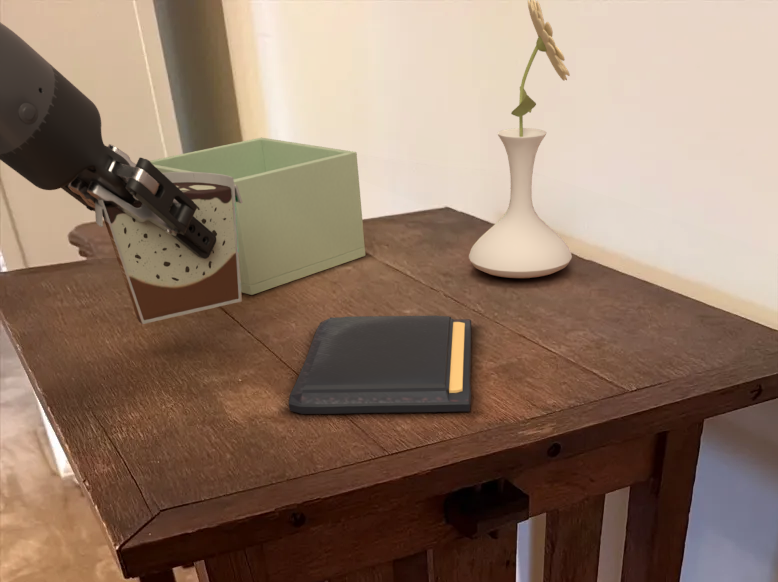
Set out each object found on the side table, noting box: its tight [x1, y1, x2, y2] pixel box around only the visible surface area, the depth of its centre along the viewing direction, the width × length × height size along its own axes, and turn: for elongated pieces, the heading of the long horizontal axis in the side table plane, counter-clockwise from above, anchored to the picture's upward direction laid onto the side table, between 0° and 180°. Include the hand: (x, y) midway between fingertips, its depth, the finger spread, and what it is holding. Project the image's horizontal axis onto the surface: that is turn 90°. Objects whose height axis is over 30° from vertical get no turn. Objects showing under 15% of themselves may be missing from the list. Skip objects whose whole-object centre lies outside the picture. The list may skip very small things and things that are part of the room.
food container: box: [94, 172, 243, 325], centre depth 78 cm, size 12×6×10 cm, turn 130°
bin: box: [149, 137, 366, 296], centre depth 103 cm, size 16×18×11 cm
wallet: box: [288, 315, 472, 415], centre depth 80 cm, size 20×2×15 cm
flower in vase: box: [468, 0, 573, 279], centre depth 95 cm, size 13×11×25 cm
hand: (182, 241), depth 79 cm, fingers closed on food container, 6 cm apart
